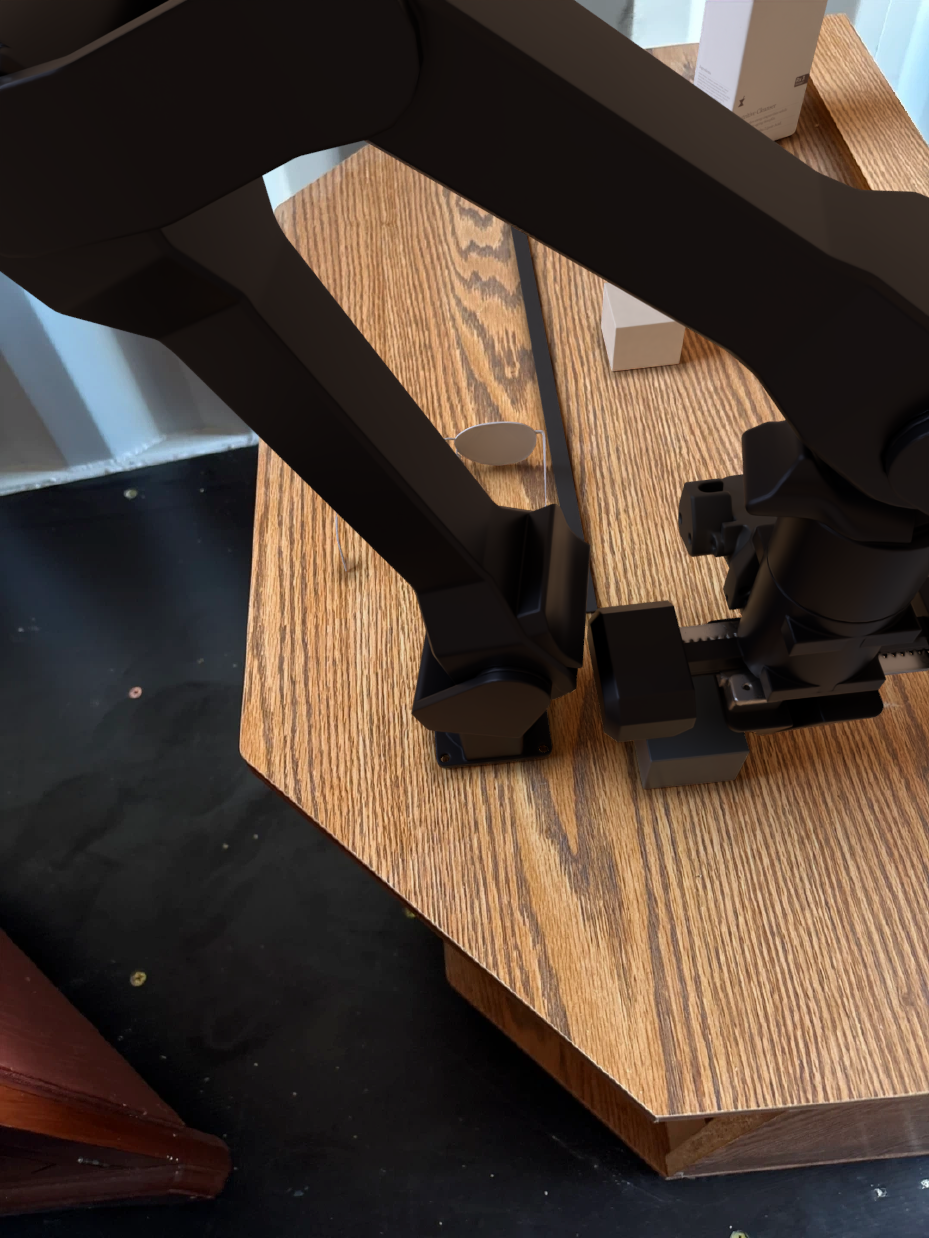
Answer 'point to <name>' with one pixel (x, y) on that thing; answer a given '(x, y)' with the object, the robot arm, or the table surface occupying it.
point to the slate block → (694, 747)
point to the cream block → (638, 332)
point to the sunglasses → (492, 448)
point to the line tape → (549, 397)
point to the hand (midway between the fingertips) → (760, 726)
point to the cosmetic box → (759, 58)
